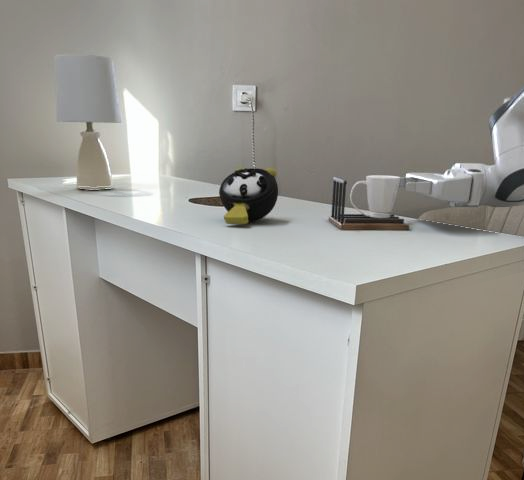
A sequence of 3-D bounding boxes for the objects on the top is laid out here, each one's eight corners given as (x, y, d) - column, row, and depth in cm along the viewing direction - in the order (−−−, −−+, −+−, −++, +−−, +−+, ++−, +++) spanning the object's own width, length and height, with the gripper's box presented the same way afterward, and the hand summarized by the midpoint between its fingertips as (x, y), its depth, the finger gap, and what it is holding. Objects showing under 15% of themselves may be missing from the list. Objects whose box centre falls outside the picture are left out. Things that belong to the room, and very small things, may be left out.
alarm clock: (210, 239, 120) (200, 171, 120) (270, 236, 126) (260, 172, 126) (231, 222, 109) (219, 148, 109) (295, 220, 115) (284, 150, 116)
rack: (390, 220, 124) (395, 177, 120) (408, 230, 112) (414, 182, 109) (328, 220, 122) (331, 176, 119) (340, 229, 111) (344, 181, 108)
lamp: (128, 186, 185) (119, 62, 171) (122, 192, 168) (112, 55, 154) (70, 186, 183) (57, 60, 169) (58, 192, 166) (42, 52, 152)
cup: (398, 219, 113) (403, 178, 110) (349, 217, 114) (352, 176, 111) (394, 214, 120) (398, 175, 117) (347, 213, 121) (350, 174, 118)
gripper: (445, 166, 125) (384, 165, 123) (487, 173, 106) (416, 172, 104) (441, 195, 127) (382, 194, 126) (481, 207, 108) (412, 206, 107)
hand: (398, 184), depth 115 cm, fingers open, 8 cm apart
